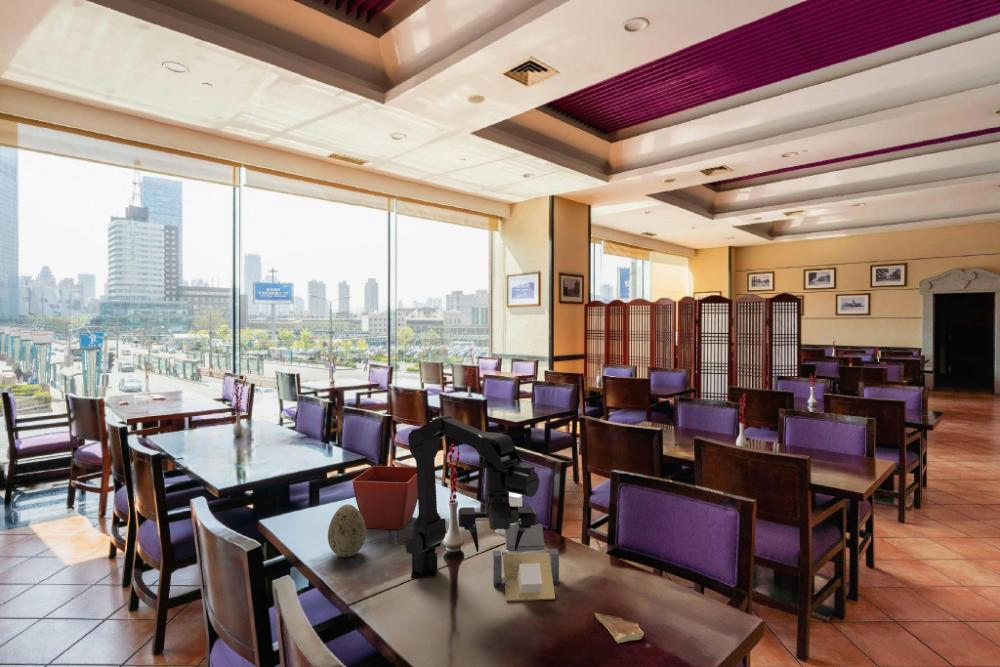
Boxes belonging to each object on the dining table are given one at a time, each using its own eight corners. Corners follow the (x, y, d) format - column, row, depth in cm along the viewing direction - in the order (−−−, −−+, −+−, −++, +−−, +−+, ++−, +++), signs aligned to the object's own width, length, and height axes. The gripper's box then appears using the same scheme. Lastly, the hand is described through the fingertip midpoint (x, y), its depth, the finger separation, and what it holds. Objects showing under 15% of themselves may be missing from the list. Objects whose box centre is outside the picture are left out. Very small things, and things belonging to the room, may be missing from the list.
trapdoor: (505, 603, 127) (505, 598, 125) (500, 530, 142) (500, 525, 140) (555, 601, 128) (556, 596, 127) (545, 529, 143) (546, 523, 141)
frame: (493, 586, 134) (493, 555, 134) (493, 581, 137) (493, 550, 137) (558, 584, 135) (558, 553, 135) (556, 578, 138) (556, 548, 138)
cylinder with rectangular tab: (527, 528, 172) (527, 492, 172) (513, 537, 165) (513, 500, 164) (504, 523, 177) (504, 488, 177) (489, 531, 170) (489, 495, 169)
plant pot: (373, 511, 188) (373, 464, 188) (424, 513, 186) (424, 466, 185) (351, 531, 169) (351, 480, 169) (407, 535, 167) (407, 483, 166)
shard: (594, 617, 121) (594, 610, 121) (624, 613, 123) (623, 605, 122) (615, 645, 110) (615, 637, 110) (648, 640, 112) (648, 632, 112)
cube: (519, 593, 128) (521, 584, 124) (518, 573, 131) (519, 563, 128) (540, 592, 128) (542, 583, 125) (537, 572, 132) (539, 563, 128)
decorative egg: (333, 567, 144) (333, 514, 144) (323, 553, 154) (323, 502, 153) (371, 558, 150) (371, 506, 150) (359, 544, 159) (359, 496, 159)
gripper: (460, 499, 117) (459, 568, 118) (541, 498, 119) (540, 565, 120) (458, 484, 128) (457, 546, 129) (533, 483, 130) (532, 544, 131)
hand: (496, 550), depth 127 cm, fingers open, 9 cm apart
